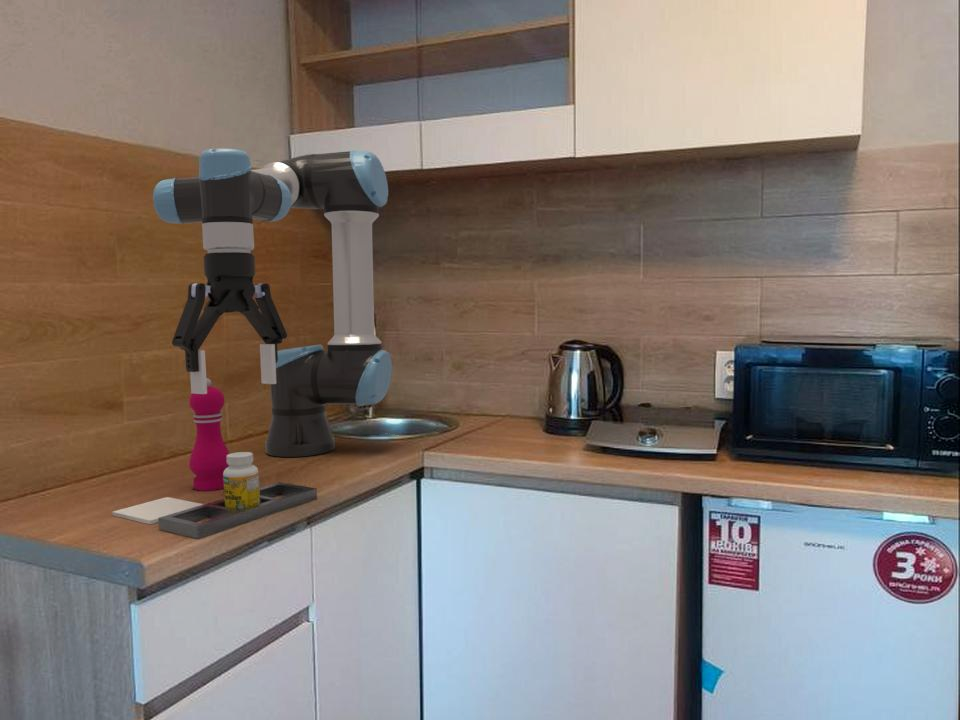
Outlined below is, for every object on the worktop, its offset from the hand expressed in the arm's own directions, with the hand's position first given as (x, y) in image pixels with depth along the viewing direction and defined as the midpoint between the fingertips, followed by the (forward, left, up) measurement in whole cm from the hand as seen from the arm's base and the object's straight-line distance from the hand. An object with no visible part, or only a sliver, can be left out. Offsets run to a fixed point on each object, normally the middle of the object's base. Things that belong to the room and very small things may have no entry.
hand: (235, 388), depth 120 cm
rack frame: (0, 0, -20) cm, 20 cm away
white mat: (+6, -13, -20) cm, 25 cm away
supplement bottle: (0, 0, -20) cm, 20 cm away
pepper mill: (-9, -19, -20) cm, 29 cm away
